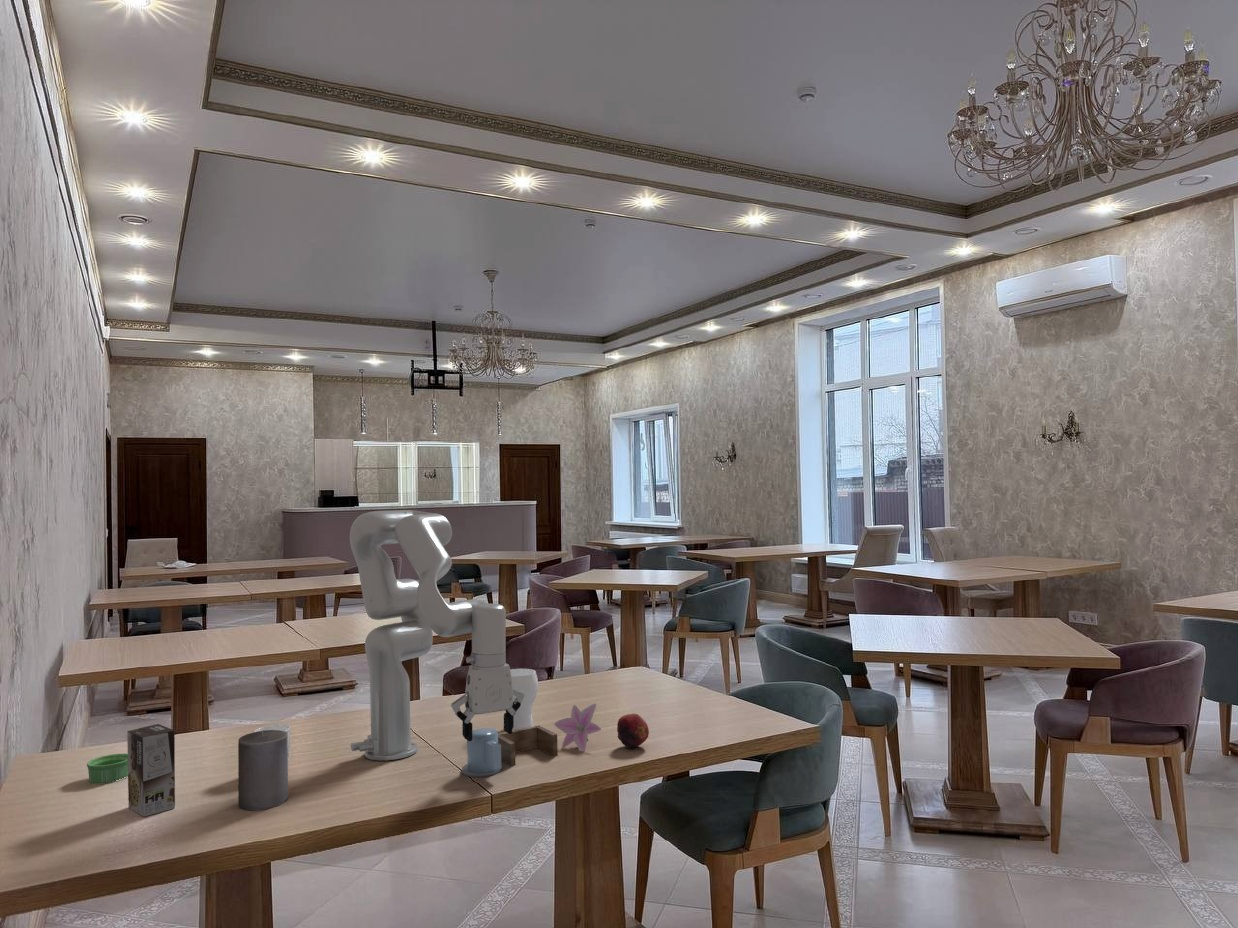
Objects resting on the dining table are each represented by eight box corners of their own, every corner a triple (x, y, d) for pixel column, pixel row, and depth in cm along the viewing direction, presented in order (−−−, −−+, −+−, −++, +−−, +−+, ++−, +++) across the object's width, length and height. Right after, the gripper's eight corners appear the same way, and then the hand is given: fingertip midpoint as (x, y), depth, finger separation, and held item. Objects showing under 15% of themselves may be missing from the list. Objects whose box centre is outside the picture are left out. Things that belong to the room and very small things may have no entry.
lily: (552, 744, 211) (544, 716, 207) (589, 719, 217) (582, 692, 212) (578, 770, 202) (570, 741, 198) (616, 743, 207) (609, 715, 203)
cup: (536, 733, 218) (535, 675, 218) (496, 734, 218) (495, 677, 218) (541, 722, 228) (539, 667, 229) (503, 722, 229) (501, 668, 229)
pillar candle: (231, 802, 174) (230, 730, 174) (277, 789, 181) (276, 720, 181) (249, 814, 167) (248, 740, 167) (296, 801, 174) (295, 729, 174)
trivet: (471, 779, 183) (471, 776, 183) (456, 769, 191) (456, 765, 191) (508, 771, 188) (508, 767, 188) (492, 761, 196) (492, 757, 196)
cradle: (510, 765, 192) (510, 743, 192) (493, 755, 200) (493, 734, 201) (557, 755, 199) (557, 734, 199) (539, 745, 207) (538, 725, 207)
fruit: (654, 744, 205) (653, 712, 205) (639, 753, 198) (638, 720, 198) (627, 740, 209) (626, 709, 209) (611, 749, 202) (610, 716, 202)
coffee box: (176, 808, 171) (175, 729, 172) (142, 817, 167) (142, 737, 167) (160, 798, 177) (159, 722, 178) (127, 807, 173) (126, 729, 173)
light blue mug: (483, 781, 180) (482, 744, 180) (463, 766, 190) (462, 731, 190) (512, 774, 184) (511, 738, 184) (491, 760, 194) (490, 726, 194)
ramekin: (92, 775, 194) (92, 756, 195) (135, 769, 198) (135, 751, 198) (82, 787, 186) (82, 767, 186) (128, 781, 189) (128, 762, 189)
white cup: (251, 780, 187) (251, 735, 188) (257, 769, 195) (256, 726, 195) (288, 776, 190) (288, 732, 190) (292, 765, 197) (292, 723, 197)
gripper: (458, 667, 178) (458, 747, 178) (530, 658, 187) (530, 733, 187) (446, 660, 184) (445, 737, 184) (516, 652, 193) (516, 725, 193)
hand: (488, 735), depth 185 cm, fingers open, 9 cm apart
